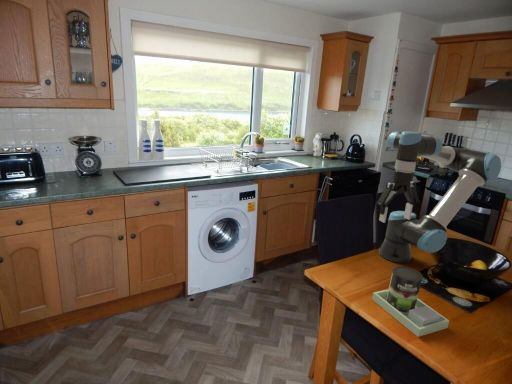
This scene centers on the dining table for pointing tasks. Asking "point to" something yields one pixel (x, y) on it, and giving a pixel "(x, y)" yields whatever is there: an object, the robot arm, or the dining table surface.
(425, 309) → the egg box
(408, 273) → the coffee can
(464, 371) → the dining table surface
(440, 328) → the tray
